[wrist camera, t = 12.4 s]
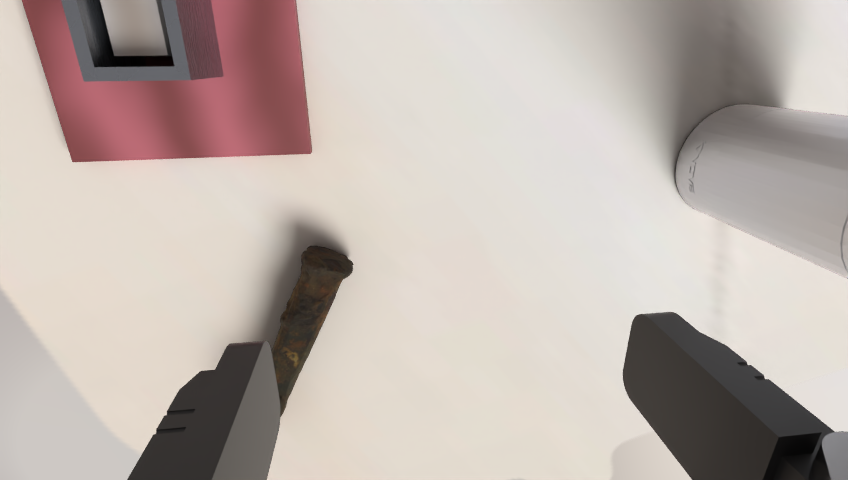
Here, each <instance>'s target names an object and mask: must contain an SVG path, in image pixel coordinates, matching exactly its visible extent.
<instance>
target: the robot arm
mask: <svg viewBox="0 0 848 480" xmlns="http://www.w3.org/2000/svg"><path fill="white" fill-rule="evenodd" d="M676 184H677V188H678V190H679V193H680V195H681V197H682V198H683V200H684V201H685V202H686V203H687V204H688V205H689V206H691V207H692V208H694V209H696V210H698V211H700V212H702V213H704V214H707V215H709V216H711V217H713V218H715V219H718V220H720V221H722V222H724V223H726V224H728V225H730V226H732V227H734V228H737V229H739V230H741V231H743V232H746V233H748V234H750V235H752V236H754V237H757V238H759V239H761V240H763V241H765V242H768V243H770V244H772V245H774V246H776V247H779V248H781V249H783V250H785V251H788V252H790V253H792V254H794V255H796V256H799V257H801V258H803V259H805V260H807V261H810V262H812V263H814V264H816V265H818V266H821V267H823V268H825V269H827V270H829V271H832V272H834V273H836V274H838V275H841V276H843V277H845V278H847V279H848V116H844V115H835V114H827V113H818V112H809V111H801V110H793V109H786V108H777V107H768V106H759V105H750V104H736V105H732V106H728V107H725V108H723V109H720V110H718V111H716V112H714V113H713V114H711V115H710V116H708V117H707V118H705V119H704V120H703V121H702V122H701V123H700V124H699V125H698V126H697V127H696V128H695V129H694V130H693V131H692V133H691V134H690V135H689V137H688V138H687V139H686V141H685V143H684V145H683V147H682V149H681V151H680V154H679V157H678V161H677V165H676ZM623 381H624V386H625V389H626V392H627V394H628V396H629V398H630V400H631V401H632V402H633V404H634V405H635V406H636V407H637V409H638V410H639V411H640V413H641V414H642V415H643V417H644V418H645V419H646V420H647V422H648V423H649V424H650V426H651V427H652V428H653V429H654V431H655V432H656V433H657V435H658V436H659V437H660V439H661V440H662V441H663V442H664V444H665V445H666V446H667V448H668V449H669V450H670V451H671V453H672V454H673V455H674V457H675V458H676V459H677V461H678V462H679V463H680V464H681V466H682V467H683V468H684V469H685V471H686V472H687V473H688V475H689V476H690V477H691V479H692V480H848V432H843V431H841V432H834V431H833V430H832V429H831V428H829V427H828V426H827V425H826V424H824V423H823V422H822V421H821V420H819V419H818V418H817V417H816V416H814V415H813V414H812V413H810V412H809V411H808V410H807V409H805V408H804V407H803V406H802V405H800V404H799V403H798V402H797V401H795V400H794V399H793V398H792V397H790V396H789V395H788V394H787V393H785V392H784V391H783V390H782V389H780V388H779V387H778V386H777V385H775V384H774V383H773V382H771V381H770V380H769V379H766V380H765V378H764V375H763V374H761V373H760V372H759V371H758V370H756V369H755V368H754V367H753V366H751V365H747V362H746V361H745V360H744V359H743V358H741V357H740V356H739V355H738V354H736V353H735V352H734V351H732V350H731V349H730V348H729V347H727V346H726V345H724V344H722V343H720V342H718V341H716V340H714V339H712V338H710V337H708V336H706V335H704V334H702V333H700V332H699V331H697V330H696V329H695V328H694V327H693V326H691V325H690V324H689V323H688V322H686V321H685V320H684V319H683V318H682V317H680V316H679V315H678V314H676V313H674V312H664V313H651V314H639V315H637V316H636V317H635V318H634V320H633V322H632V326H631V331H630V337H629V342H628V347H627V352H626V358H625V363H624V368H623ZM279 425H280V399H279V393H278V387H277V381H276V375H275V369H274V363H273V357H272V351H271V347H270V344H269V342H268V341H260V342H246V343H233V344H229V345H228V346H227V347H226V349H225V351H224V353H223V355H222V357H221V359H220V361H219V363H218V365H217V367H216V369H215V370H208V371H200V372H199V373H198V374H197V375H196V376H195V377H194V378H192V379H191V380H190V381H189V382H188V383H187V384H186V385H184V386H183V387H182V388H181V389H180V390H179V392H178V393H177V395H176V397H175V398H174V400H173V402H172V404H171V405H170V407H169V409H168V411H167V416H164V417H163V419H162V421H161V423H160V424H159V426H158V428H157V429H156V434H154V435H153V436H152V438H151V440H150V441H149V443H148V445H147V447H146V448H145V450H144V452H143V454H142V455H141V457H140V459H139V460H138V462H137V464H136V466H135V467H134V469H133V471H132V472H131V474H130V476H129V478H128V480H267V476H268V472H269V468H270V464H271V460H272V456H273V452H274V448H275V443H276V439H277V435H278V431H279Z"/></svg>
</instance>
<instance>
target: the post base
mask: <svg viewBox="0 0 848 480" xmlns="http://www.w3.org/2000/svg"><path fill="white" fill-rule="evenodd" d="M100 1H101V5H102V9H103V13H104V17H105V21H106V25H107V29H108V33H109V37H110V41H111V45H112V49H113V53H114V56H138V57H145V62H146V66H174V62H173V57H172V52H171V47H170V42H169V37H168V32H167V27H166V22H165V18H164V13H163V8H162V3H161V0H100ZM22 2H23V5H24V8H25V12H26V15H27V18H28V21H29V24H30V28H31V31H32V34H33V37H34V40H35V44H36V47H37V50H38V53H39V56H40V60H41V63H42V66H43V69H44V72H45V76H46V79H47V82H48V85H49V88H50V92H51V95H52V98H53V101H54V104H55V108H56V111H57V114H58V117H59V120H60V124H61V127H62V130H63V133H64V136H65V139H66V143H67V146H68V149H69V152H70V155H71V159H72V162H91V161H119V160H147V159H176V158H204V157H232V156H261V155H289V154H311V152H312V145H311V136H310V127H309V117H308V108H307V99H306V89H305V80H304V71H303V61H302V52H301V43H300V33H299V24H298V15H297V6H296V0H211V3H212V9H213V15H214V21H215V27H216V33H217V39H218V45H219V51H220V57H221V63H222V69H223V75H224V77H216V78H207V79H198V80H169V81H90V82H84V81H83V77H82V73H81V70H80V66H79V63H78V59H77V56H76V52H75V48H74V45H73V41H72V38H71V34H70V30H69V27H68V23H67V20H66V16H65V13H64V9H63V5H62V2H61V0H22Z"/></svg>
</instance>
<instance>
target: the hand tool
mask: <svg viewBox="0 0 848 480" xmlns="http://www.w3.org/2000/svg"><path fill="white" fill-rule="evenodd" d="M301 261H302V267H301V276H300V278H299V280H298V282H297V285H296V287H295V288H294V290H293V293H292V295H291V298H290V300H289V301H288V303H287V308H286V310H285V312H284V313H283V314H282V315H281V319H280V322H281V327H280V330H279V333H278V336H277V338H276V341H275V344H274V347H273V349H272V357H273V363H274V369H275V375H276V381H277V387H278V393H279V399H280V417H281V416H282V414H283V412H284V410H285V408H286V404H287V400H288V397H289V395H290V394H291V392H292V389H293V387H294V385H295V382H296V380H297V378H298V375H299V373H300V372H301V370H302V368H303V365H304V363H305V361H306V359H307V358H308V356H309V353H310V351H311V349H312V346H313V344H314V342H315V340H316V338H317V336H318V333H319V331H320V329H321V327H322V325H323V323H324V321H325V319H326V316H327V314H328V312H329V309H330V307H331V305H332V303H333V301H334V299H335V296H336V293H337V291H338V288H339V286H340V284H341V282H342V280H343V279H345V278H346V277H348V276H349V275H350V274H351V273H352V271H353V266H352V265H354V264H353V263H352V261H350V260H349V259H348V258H347V257H346V256H345V255H341V254H339V253H337V252H335V251H333V250H330V249H327V248H324V247H318V246H310V247H308V248H307V250H306V251H304V252H303V254H302V256H301Z"/></svg>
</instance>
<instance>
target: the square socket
mask: <svg viewBox="0 0 848 480" xmlns="http://www.w3.org/2000/svg"><path fill="white" fill-rule="evenodd" d="M61 2H62V5H63V9H64V13H65V16H66V20H67V23H68V27H69V30H70V34H71V38H72V41H73V45H74V48H75V52H76V56H77V59H78V63H79V66H80V70H81V73H82V77H83V81H84V82H90V81H169V80H198V79H207V78H216V77H224V75H223V69H222V63H221V57H220V51H219V45H218V39H217V33H216V27H215V21H214V15H213V9H212V3H211V0H161V3H162V8H163V13H164V18H165V22H166V27H167V32H168V37H169V42H170V47H171V52H172V57H173V62H174V66H146V62H145V57H138V56H114V53H113V49H112V45H111V41H110V37H109V33H108V29H107V25H106V21H105V17H104V13H103V9H102V5H101V1H100V0H61Z"/></svg>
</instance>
